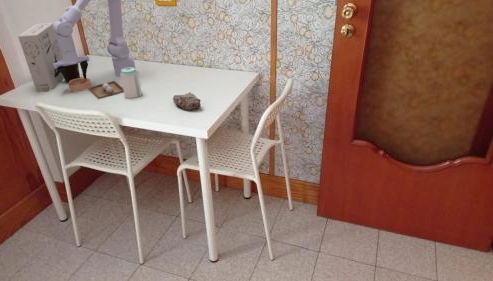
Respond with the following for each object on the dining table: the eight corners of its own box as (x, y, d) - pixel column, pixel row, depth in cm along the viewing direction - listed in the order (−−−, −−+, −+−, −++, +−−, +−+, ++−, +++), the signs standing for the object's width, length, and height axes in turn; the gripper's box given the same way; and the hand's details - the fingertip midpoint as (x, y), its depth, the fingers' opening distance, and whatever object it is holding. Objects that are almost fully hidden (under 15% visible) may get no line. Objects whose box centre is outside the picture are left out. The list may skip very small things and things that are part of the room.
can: (121, 97, 162) (115, 70, 156) (134, 91, 167) (129, 65, 160) (132, 100, 158) (127, 73, 152) (145, 95, 163) (140, 68, 157)
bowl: (87, 82, 177) (86, 76, 176) (93, 88, 171) (92, 81, 169) (67, 87, 173) (65, 81, 171) (73, 93, 167) (71, 87, 165)
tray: (114, 83, 175) (114, 80, 175) (126, 92, 166) (125, 89, 165) (88, 90, 169) (87, 87, 169) (98, 100, 160) (98, 97, 159)
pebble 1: (81, 86, 172) (79, 79, 171) (83, 88, 170) (81, 81, 168) (74, 88, 171) (72, 81, 169) (76, 90, 168) (74, 83, 167)
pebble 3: (112, 91, 166) (111, 84, 164) (115, 93, 164) (113, 86, 162) (105, 93, 164) (104, 86, 163) (108, 95, 162) (106, 88, 161)
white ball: (109, 88, 169) (107, 81, 168) (111, 90, 167) (110, 83, 165) (102, 90, 168) (100, 83, 166) (104, 92, 165) (102, 85, 164)
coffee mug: (76, 85, 176) (70, 64, 170) (59, 84, 177) (53, 63, 172) (90, 75, 185) (84, 55, 180) (74, 75, 187) (68, 55, 182)
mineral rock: (170, 102, 156) (168, 92, 154) (188, 97, 160) (186, 87, 157) (185, 115, 145) (183, 105, 143) (203, 110, 149) (202, 99, 147)
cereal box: (53, 90, 170) (36, 34, 158) (36, 92, 170) (17, 35, 157) (68, 73, 189) (53, 22, 176) (52, 74, 189) (36, 23, 176)
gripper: (52, 55, 155) (61, 87, 162) (88, 48, 162) (95, 78, 169) (48, 51, 160) (57, 82, 167) (83, 45, 167) (90, 74, 174)
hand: (76, 80), depth 168 cm, fingers open, 7 cm apart
